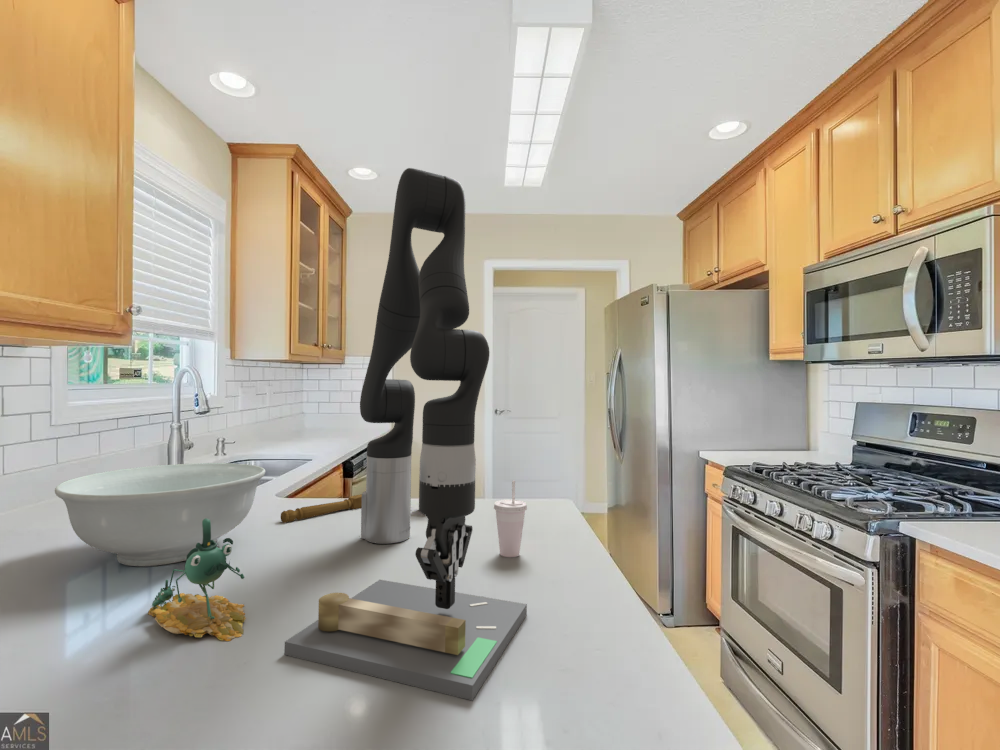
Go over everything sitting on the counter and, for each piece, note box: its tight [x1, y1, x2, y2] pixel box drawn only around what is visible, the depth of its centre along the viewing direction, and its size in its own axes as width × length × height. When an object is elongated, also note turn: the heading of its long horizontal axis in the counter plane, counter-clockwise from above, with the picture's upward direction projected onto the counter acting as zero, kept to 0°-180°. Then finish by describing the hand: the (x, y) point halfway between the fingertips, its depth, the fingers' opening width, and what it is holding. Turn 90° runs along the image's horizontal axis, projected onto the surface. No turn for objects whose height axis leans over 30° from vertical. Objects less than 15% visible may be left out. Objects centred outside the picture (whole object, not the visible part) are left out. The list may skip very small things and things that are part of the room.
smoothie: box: [493, 480, 528, 558], centre depth 94 cm, size 6×6×14 cm
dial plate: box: [283, 579, 528, 701], centre depth 63 cm, size 24×20×2 cm
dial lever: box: [317, 592, 466, 655], centre depth 59 cm, size 19×4×3 cm, turn 71°
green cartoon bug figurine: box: [147, 518, 247, 642], centre depth 66 cm, size 10×18×15 cm, turn 58°
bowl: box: [54, 462, 266, 567], centre depth 92 cm, size 32×32×15 cm
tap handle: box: [280, 493, 362, 524], centre depth 124 cm, size 3×3×30 cm
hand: (444, 605), depth 65 cm, fingers closed
